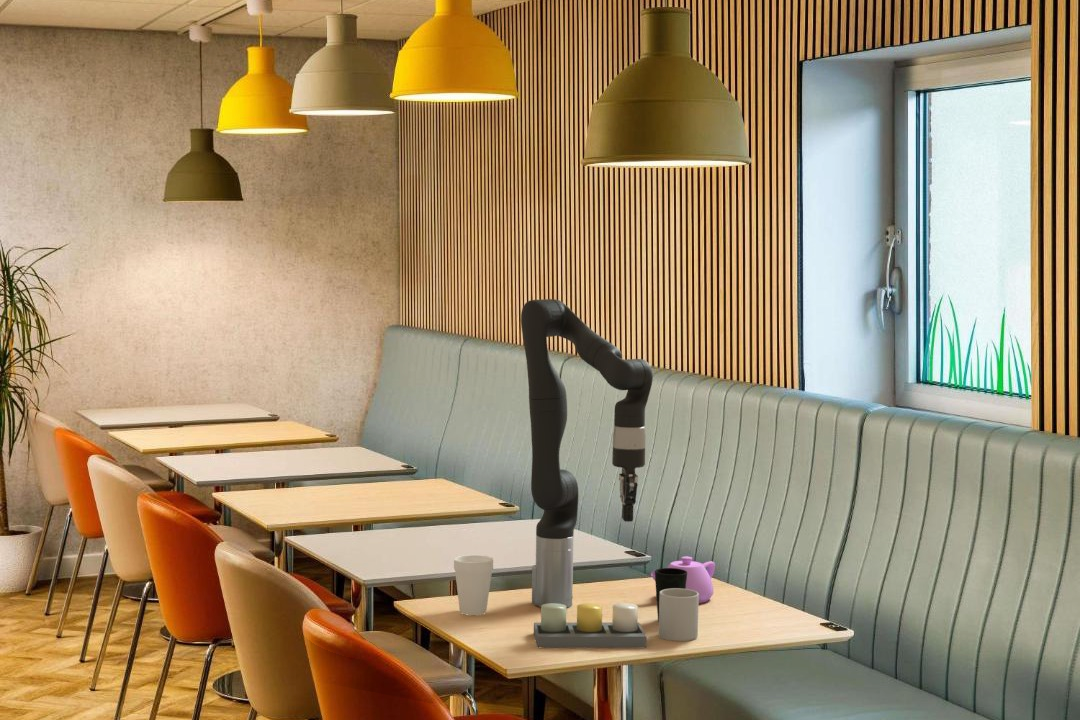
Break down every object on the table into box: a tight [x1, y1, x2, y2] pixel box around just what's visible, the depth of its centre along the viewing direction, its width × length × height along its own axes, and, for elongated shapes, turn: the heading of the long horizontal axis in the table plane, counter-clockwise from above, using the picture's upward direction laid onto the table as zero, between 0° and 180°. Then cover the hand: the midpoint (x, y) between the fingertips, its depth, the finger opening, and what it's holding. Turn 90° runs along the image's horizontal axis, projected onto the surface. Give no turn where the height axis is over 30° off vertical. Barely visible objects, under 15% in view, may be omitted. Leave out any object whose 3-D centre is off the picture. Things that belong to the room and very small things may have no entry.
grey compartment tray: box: [533, 621, 647, 649], centre depth 305 cm, size 24×12×2 cm, turn 94°
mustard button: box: [576, 602, 603, 632], centre depth 305 cm, size 6×6×5 cm
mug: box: [658, 588, 700, 642], centre depth 311 cm, size 11×10×10 cm
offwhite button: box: [612, 602, 639, 632], centre depth 306 cm, size 6×6×5 cm
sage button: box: [540, 603, 567, 632], centre depth 305 cm, size 6×6×5 cm
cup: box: [654, 567, 687, 623], centre depth 323 cm, size 8×8×12 cm
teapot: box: [650, 555, 716, 604], centre depth 346 cm, size 14×20×11 cm
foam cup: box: [453, 554, 494, 616], centre depth 329 cm, size 10×9×13 cm
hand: (627, 520), depth 316 cm, fingers closed
